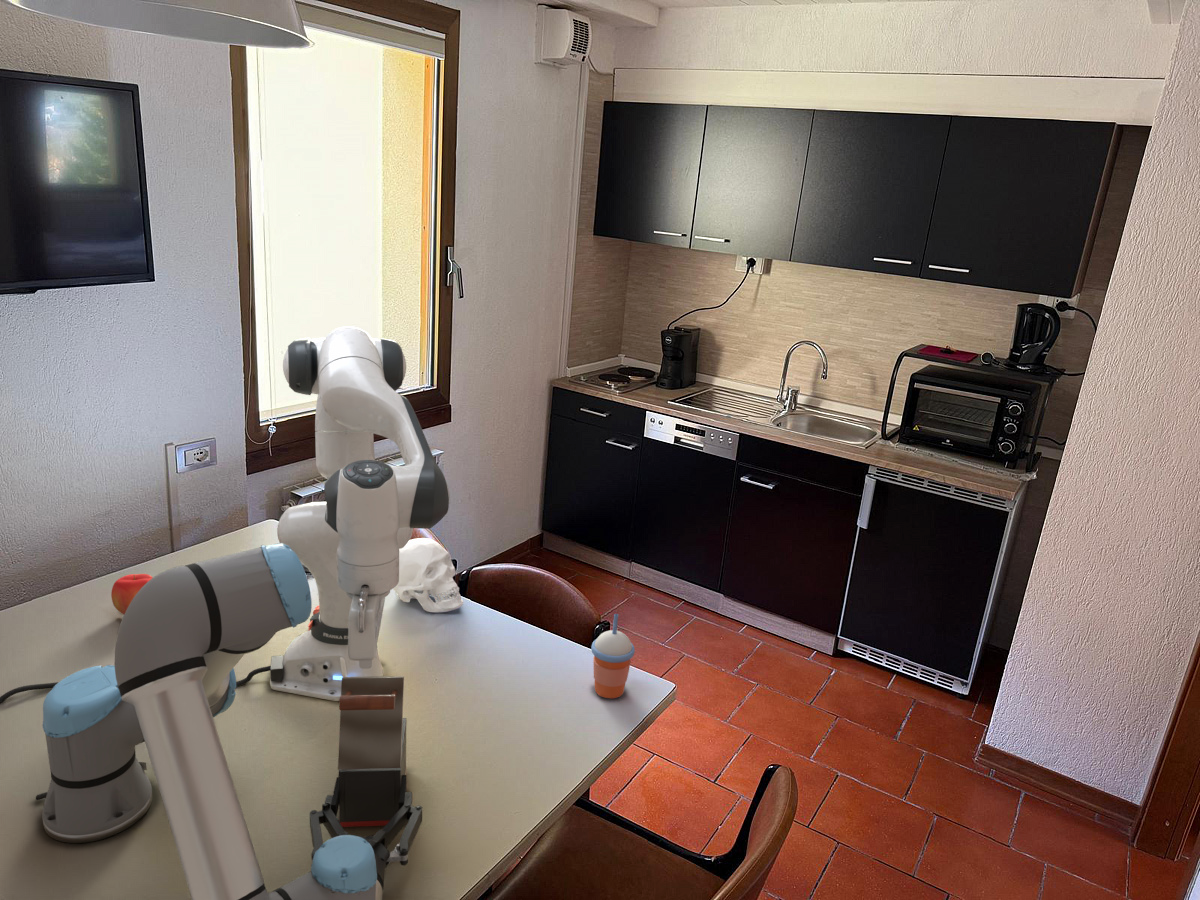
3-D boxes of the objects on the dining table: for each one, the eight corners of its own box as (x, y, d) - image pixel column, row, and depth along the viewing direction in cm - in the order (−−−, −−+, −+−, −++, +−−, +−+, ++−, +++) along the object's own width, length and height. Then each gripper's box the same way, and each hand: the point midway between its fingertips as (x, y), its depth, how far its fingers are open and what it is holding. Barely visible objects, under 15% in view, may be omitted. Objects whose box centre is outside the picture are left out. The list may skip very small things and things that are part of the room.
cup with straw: (626, 706, 176) (634, 628, 171) (583, 698, 178) (590, 621, 173) (633, 683, 185) (641, 608, 180) (592, 675, 186) (599, 601, 181)
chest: (350, 770, 151) (349, 718, 147) (406, 768, 152) (406, 717, 149) (339, 827, 138) (338, 772, 135) (400, 824, 140) (400, 770, 136)
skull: (448, 622, 203) (451, 561, 199) (372, 599, 211) (374, 540, 207) (477, 602, 215) (480, 543, 211) (405, 581, 223) (406, 524, 219)
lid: (342, 676, 136) (334, 688, 127) (404, 676, 138) (400, 687, 128) (338, 767, 135) (329, 785, 126) (400, 765, 137) (396, 783, 127)
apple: (164, 620, 195) (160, 580, 192) (116, 629, 189) (112, 588, 186) (157, 602, 202) (154, 563, 199) (111, 610, 197) (107, 571, 194)
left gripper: (272, 917, 118) (301, 804, 139) (436, 907, 122) (440, 799, 143) (270, 873, 116) (300, 766, 137) (437, 864, 120) (441, 761, 141)
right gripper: (384, 605, 116) (384, 693, 120) (395, 543, 135) (394, 620, 139) (336, 605, 115) (337, 694, 119) (354, 542, 134) (354, 620, 138)
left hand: (371, 783), depth 140 cm, fingers closed on chest, 10 cm apart
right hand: (368, 654), depth 129 cm, fingers open, 5 cm apart
